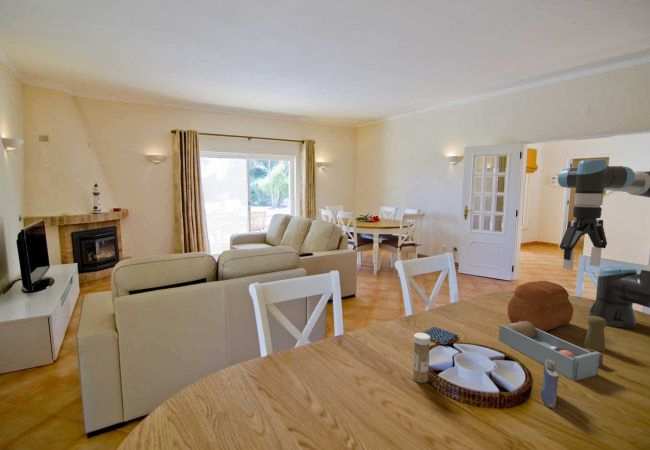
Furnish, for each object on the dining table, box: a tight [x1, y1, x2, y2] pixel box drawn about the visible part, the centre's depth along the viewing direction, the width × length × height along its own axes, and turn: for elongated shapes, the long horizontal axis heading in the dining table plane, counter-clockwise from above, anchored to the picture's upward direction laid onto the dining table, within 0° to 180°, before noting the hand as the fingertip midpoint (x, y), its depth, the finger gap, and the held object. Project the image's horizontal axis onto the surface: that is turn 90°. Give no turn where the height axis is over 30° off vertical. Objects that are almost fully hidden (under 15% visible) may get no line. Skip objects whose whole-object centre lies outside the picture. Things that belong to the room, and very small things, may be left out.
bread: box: [507, 280, 574, 332], centre depth 138 cm, size 18×22×17 cm
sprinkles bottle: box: [412, 332, 431, 384], centre depth 98 cm, size 5×5×14 cm
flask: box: [540, 359, 560, 410], centre depth 89 cm, size 9×3×11 cm, turn 151°
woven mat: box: [422, 326, 460, 345], centre depth 125 cm, size 10×11×2 cm
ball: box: [559, 350, 575, 358], centre depth 105 cm, size 5×5×5 cm
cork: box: [583, 316, 608, 352], centre depth 118 cm, size 6×6×11 cm
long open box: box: [498, 321, 601, 382], centre depth 111 cm, size 10×27×8 cm, turn 20°
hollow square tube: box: [586, 349, 604, 366], centre depth 107 cm, size 3×3×4 cm
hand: (581, 267), depth 116 cm, fingers open, 13 cm apart
